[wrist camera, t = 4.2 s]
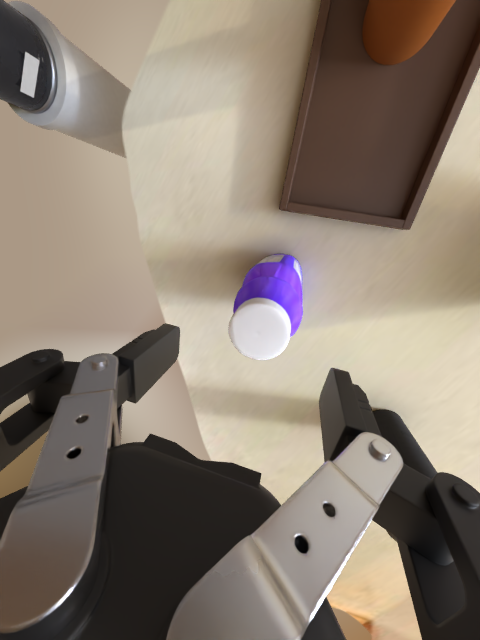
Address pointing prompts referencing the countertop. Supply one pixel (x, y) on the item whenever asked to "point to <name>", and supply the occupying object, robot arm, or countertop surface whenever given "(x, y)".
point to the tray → (377, 117)
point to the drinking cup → (403, 443)
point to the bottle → (267, 307)
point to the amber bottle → (400, 27)
